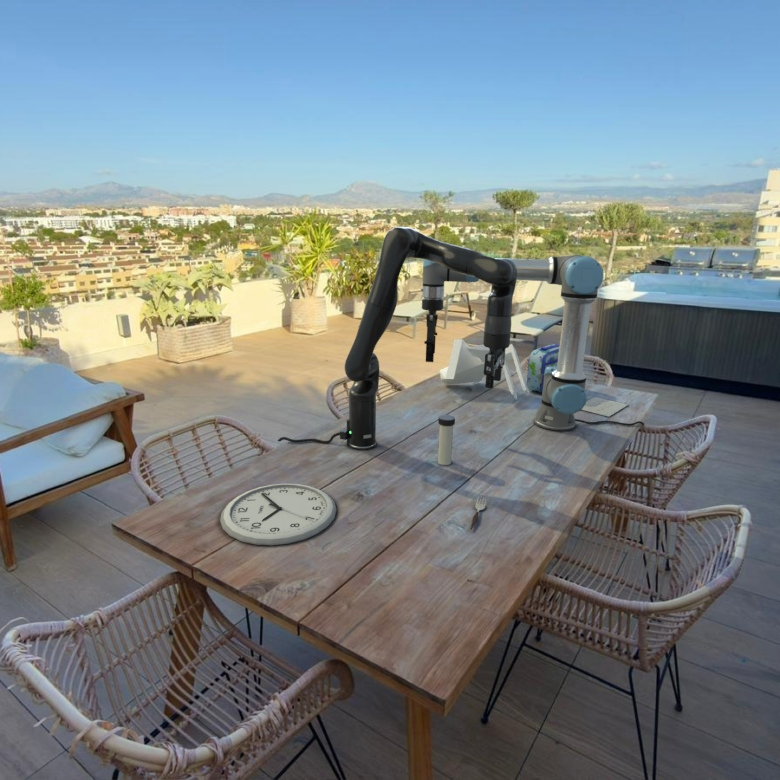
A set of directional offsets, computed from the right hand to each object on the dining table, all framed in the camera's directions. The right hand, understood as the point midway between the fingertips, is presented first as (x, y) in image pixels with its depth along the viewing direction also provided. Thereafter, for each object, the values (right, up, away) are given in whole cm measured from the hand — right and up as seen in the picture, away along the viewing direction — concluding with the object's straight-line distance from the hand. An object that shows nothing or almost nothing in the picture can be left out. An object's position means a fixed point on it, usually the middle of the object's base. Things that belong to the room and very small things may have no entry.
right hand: (430, 357), depth 190 cm
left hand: (+16, -10, -34) cm, 39 cm away
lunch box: (+61, -11, +61) cm, 86 cm away
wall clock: (-44, -45, -51) cm, 81 cm away
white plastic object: (+27, -13, +54) cm, 61 cm away
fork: (+8, -45, -51) cm, 69 cm away
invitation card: (+77, -19, +37) cm, 87 cm away
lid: (+3, -21, -24) cm, 32 cm away
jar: (+3, -35, -19) cm, 40 cm away
